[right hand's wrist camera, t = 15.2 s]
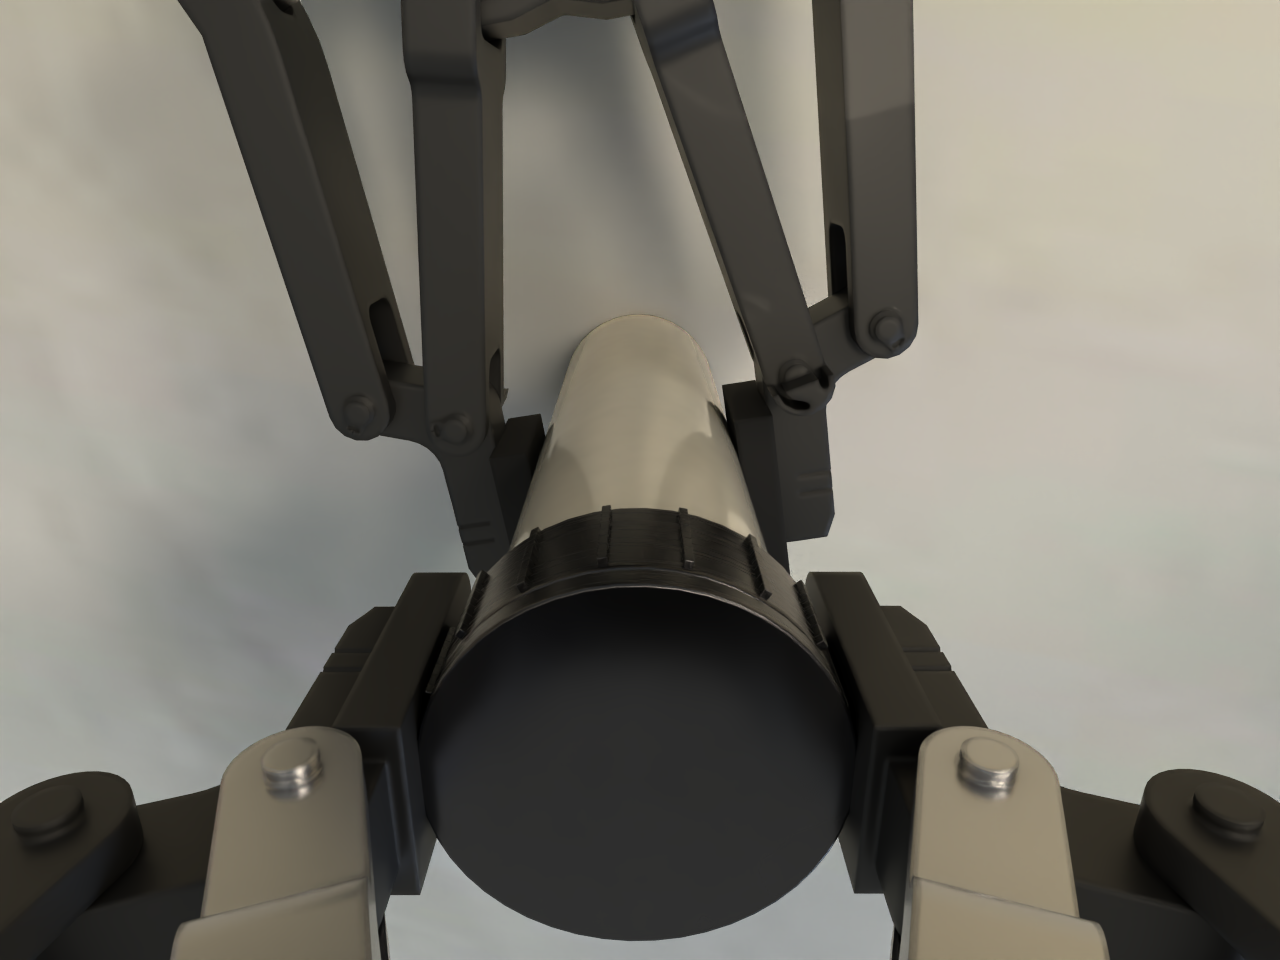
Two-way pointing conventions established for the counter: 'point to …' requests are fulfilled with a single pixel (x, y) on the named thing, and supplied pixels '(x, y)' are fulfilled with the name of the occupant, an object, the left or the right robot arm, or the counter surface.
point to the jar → (638, 433)
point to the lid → (636, 729)
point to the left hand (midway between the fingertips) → (674, 671)
